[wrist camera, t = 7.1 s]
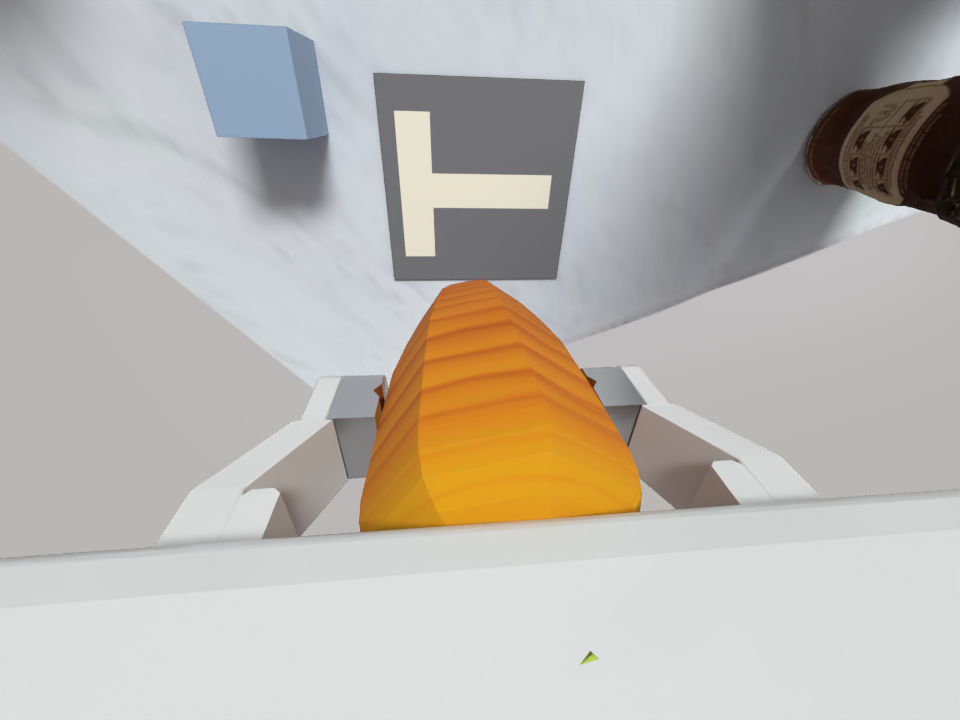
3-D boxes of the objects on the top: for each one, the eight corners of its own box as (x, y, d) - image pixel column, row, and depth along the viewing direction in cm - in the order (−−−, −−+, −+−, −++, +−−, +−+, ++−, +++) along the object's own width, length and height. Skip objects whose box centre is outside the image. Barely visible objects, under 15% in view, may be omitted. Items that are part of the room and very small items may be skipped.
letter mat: (584, 81, 26) (584, 81, 26) (555, 277, 33) (556, 278, 33) (373, 73, 24) (373, 72, 24) (395, 278, 32) (394, 279, 32)
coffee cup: (772, 208, 32) (944, 259, 21) (800, 87, 27) (1039, 73, 16) (878, 184, 31) (1109, 224, 20) (925, 58, 27) (1254, 24, 16)
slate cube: (313, 41, 23) (286, 26, 19) (328, 134, 26) (307, 139, 22) (228, 36, 23) (182, 21, 19) (253, 132, 26) (217, 136, 22)
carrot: (451, 364, 17) (487, 1077, 4) (377, 276, 14) (-20, 1343, 2) (549, 306, 16) (970, 1045, 3) (487, 200, 13) (1265, 1604, 1)
